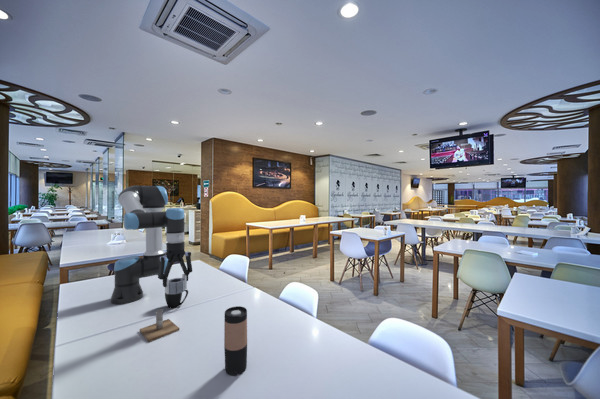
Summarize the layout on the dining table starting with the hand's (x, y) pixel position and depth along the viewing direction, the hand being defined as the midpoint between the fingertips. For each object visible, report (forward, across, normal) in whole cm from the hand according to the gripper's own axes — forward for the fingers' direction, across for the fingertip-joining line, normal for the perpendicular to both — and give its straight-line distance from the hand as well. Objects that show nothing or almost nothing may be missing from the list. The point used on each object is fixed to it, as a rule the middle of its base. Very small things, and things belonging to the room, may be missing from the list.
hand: (175, 290), depth 116 cm
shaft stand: (+15, -8, -2) cm, 17 cm away
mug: (+15, +8, +17) cm, 24 cm away
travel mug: (+15, 0, -47) cm, 49 cm away
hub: (0, 0, 0) cm, 0 cm away
